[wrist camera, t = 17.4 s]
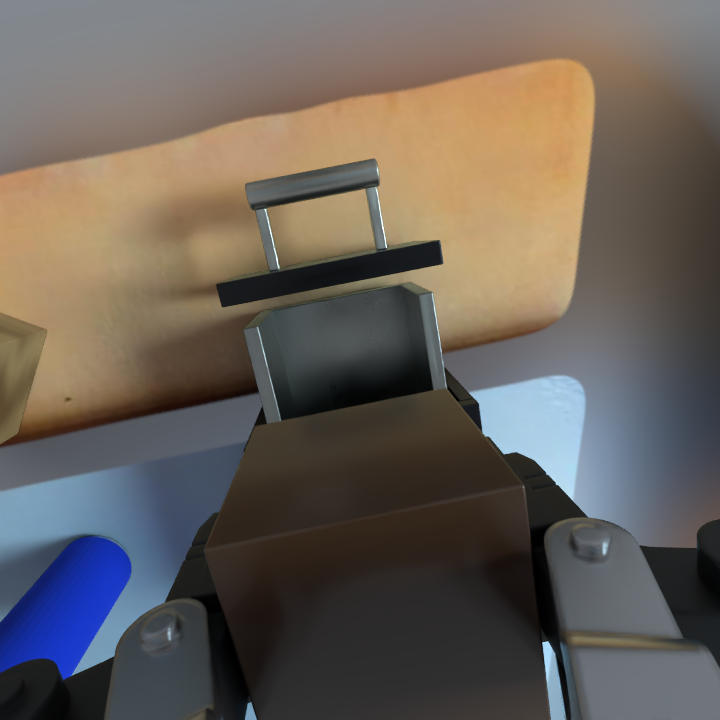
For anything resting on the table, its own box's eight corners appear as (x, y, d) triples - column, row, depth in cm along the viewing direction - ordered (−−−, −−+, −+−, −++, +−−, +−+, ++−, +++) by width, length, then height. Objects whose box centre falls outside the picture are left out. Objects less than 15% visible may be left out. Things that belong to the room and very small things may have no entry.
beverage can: (57, 579, 36) (-132, 810, 21) (73, 522, 35) (-113, 724, 20) (124, 597, 36) (-13, 833, 22) (143, 543, 35) (11, 752, 21)
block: (254, 425, 11) (201, 550, 6) (446, 386, 11) (525, 484, 6) (297, 588, 12) (278, 790, 7) (470, 552, 12) (552, 732, 7)
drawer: (223, 199, 29) (189, 184, 22) (402, 164, 29) (426, 139, 22) (285, 449, 33) (274, 504, 26) (442, 417, 33) (472, 464, 26)
